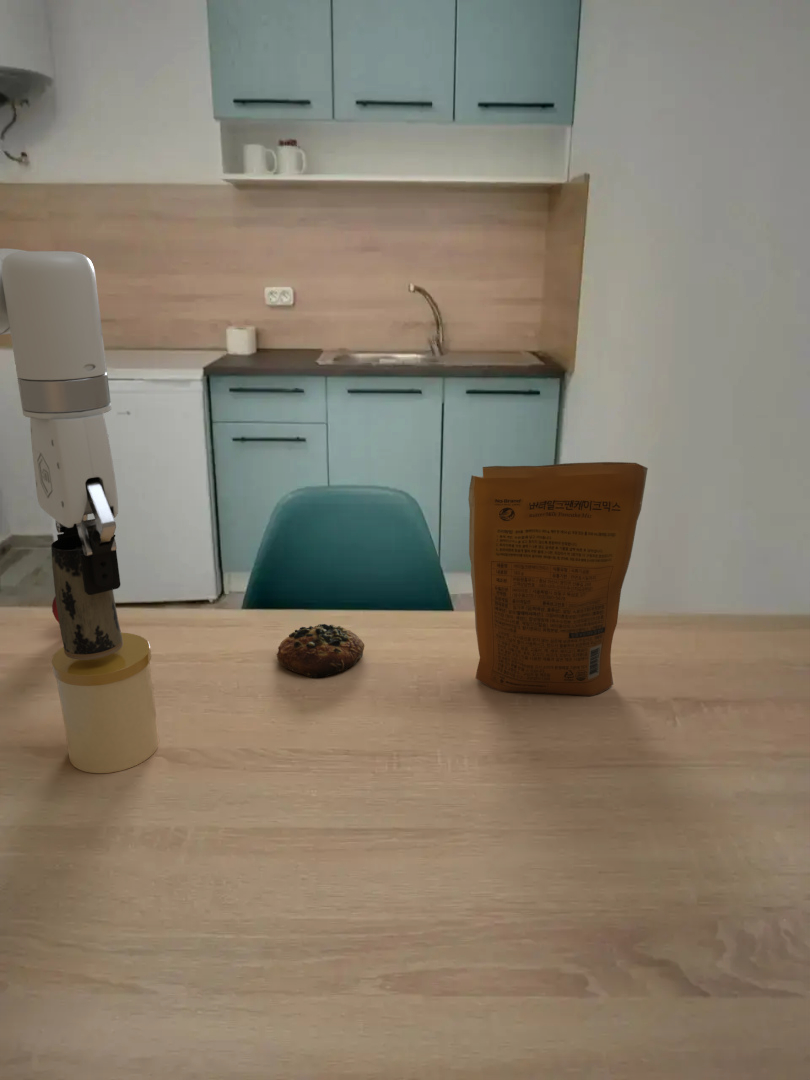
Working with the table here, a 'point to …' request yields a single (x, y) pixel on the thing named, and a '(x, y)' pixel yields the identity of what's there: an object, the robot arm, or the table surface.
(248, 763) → the table surface
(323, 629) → the bread roll
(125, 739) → the jar
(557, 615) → the pancake mix bag
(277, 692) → the table surface
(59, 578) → the mug
